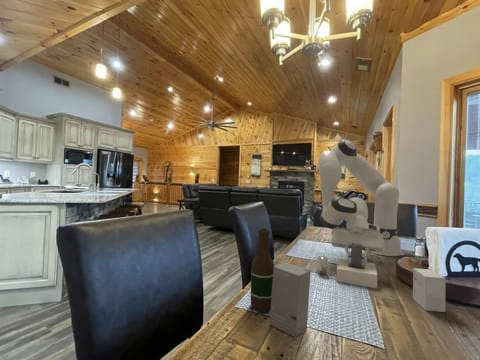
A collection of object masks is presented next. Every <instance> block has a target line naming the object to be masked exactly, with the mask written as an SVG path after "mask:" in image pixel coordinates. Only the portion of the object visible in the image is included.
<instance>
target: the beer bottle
mask: <svg viewBox="0 0 480 360" xmlns="http://www.w3.org/2000/svg"><path fill="white" fill-rule="evenodd" d="M270 233H271V232H270V230H269V229H268V228H260V229H258V231H257V234H258V242H257V251H256V255H255V257H254V258H253V260H252V261H251V266H250V268H251V269H250V307H251V310H253V311H254V312H256V313H259V314H270V308H271V296H272V283H273V270H274V266H275V263H274V260H273V259H272V257H271V252H270Z"/></svg>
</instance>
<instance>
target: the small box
mask: <svg viewBox="0 0 480 360" xmlns="http://www.w3.org/2000/svg"><path fill="white" fill-rule="evenodd" d="M412 270H413V271H412V273H413V274H412V276H413V277H412V279H413V280H412V299H413V300H414V301H415V302H416V303H417V304H418V305H419V306H420V307H421V308H423V310H424V311H426V312H427V311H428V312H437V313H440V312H441V313H446V277H444V276H442V275H441V274H439V273H438V272H436V271H434V270H433V269H428V268H427V269H425V268H412Z"/></svg>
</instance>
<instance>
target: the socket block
mask: <svg viewBox="0 0 480 360" xmlns="http://www.w3.org/2000/svg"><path fill="white" fill-rule="evenodd" d="M336 282H339V283H344V284H350V285H355V286H361V287H367V288H371V289H378V271H377V266H376V263H372V262H367V261H366V262H365V261H362V269H357V268H351V259H345V258H338V262H337V267H336Z"/></svg>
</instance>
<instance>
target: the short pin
mask: <svg viewBox="0 0 480 360" xmlns="http://www.w3.org/2000/svg"><path fill="white" fill-rule="evenodd" d="M328 260H329V258H328V256H325V255H318V256H317V275H320V276H328V266H329V265H328V262H329V261H328Z"/></svg>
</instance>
